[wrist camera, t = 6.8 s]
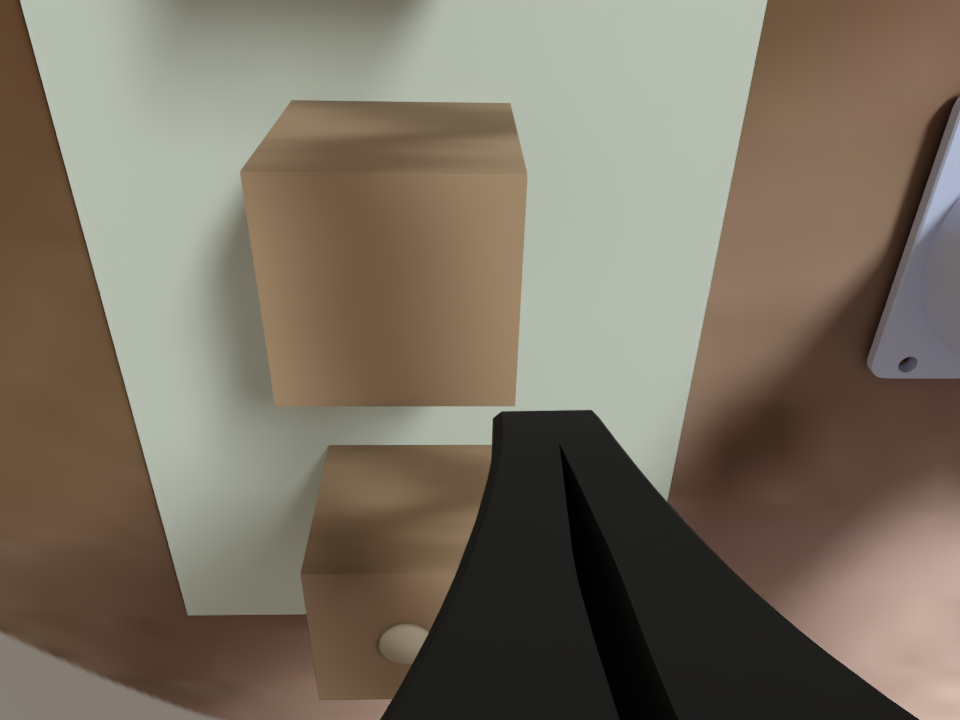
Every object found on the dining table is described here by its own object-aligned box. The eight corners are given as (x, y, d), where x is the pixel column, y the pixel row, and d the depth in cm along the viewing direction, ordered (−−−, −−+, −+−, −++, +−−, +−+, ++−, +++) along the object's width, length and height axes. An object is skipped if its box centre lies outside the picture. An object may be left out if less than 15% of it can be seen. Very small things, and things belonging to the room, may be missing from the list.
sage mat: (906, -748, 12) (920, -767, 11) (642, 602, 28) (645, 611, 27) (-186, -805, 11) (-206, -827, 11) (191, 606, 27) (187, 615, 27)
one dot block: (496, 444, 23) (506, 578, 19) (491, 562, 26) (499, 704, 21) (322, 445, 23) (290, 581, 18) (335, 563, 26) (310, 706, 21)
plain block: (510, 103, 18) (527, 174, 13) (502, 296, 20) (515, 406, 16) (291, 100, 18) (239, 171, 13) (312, 295, 20) (275, 406, 16)
